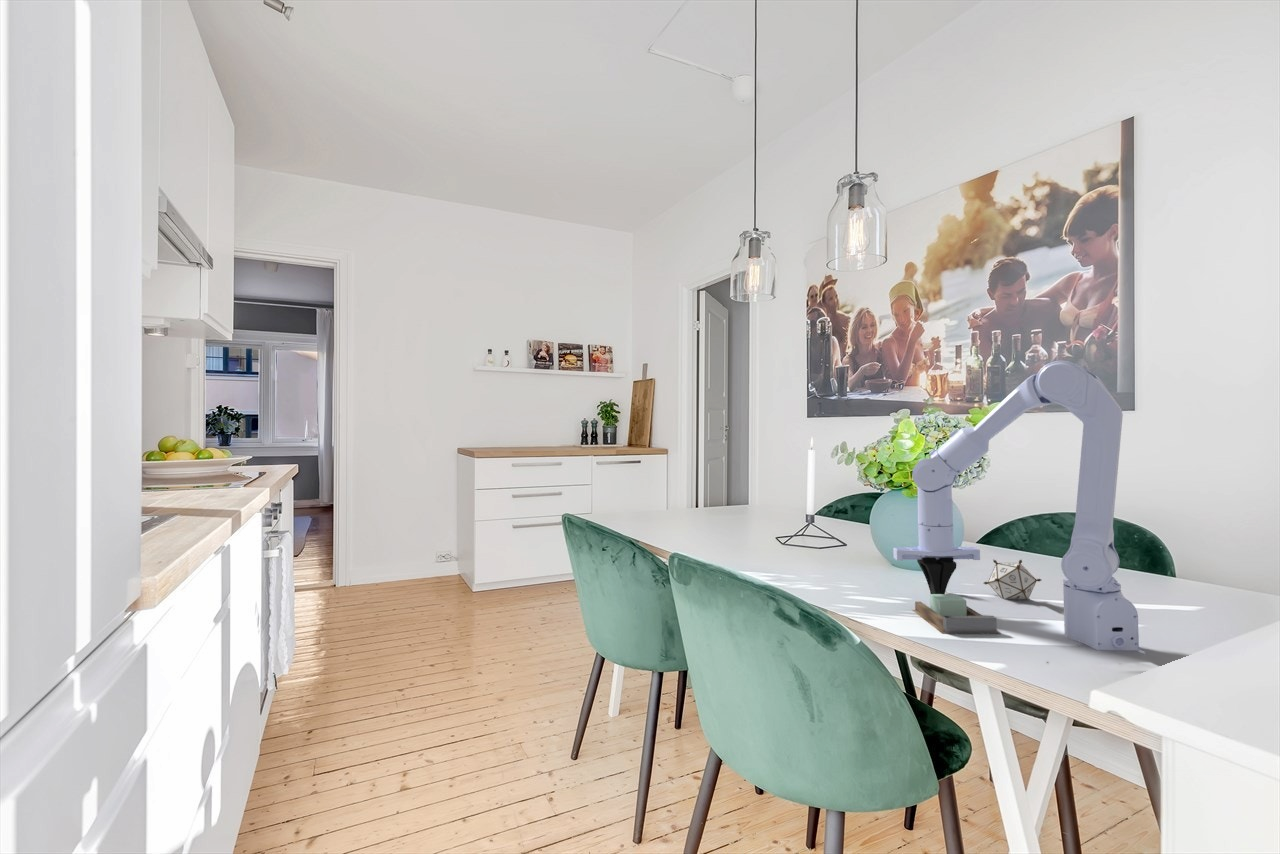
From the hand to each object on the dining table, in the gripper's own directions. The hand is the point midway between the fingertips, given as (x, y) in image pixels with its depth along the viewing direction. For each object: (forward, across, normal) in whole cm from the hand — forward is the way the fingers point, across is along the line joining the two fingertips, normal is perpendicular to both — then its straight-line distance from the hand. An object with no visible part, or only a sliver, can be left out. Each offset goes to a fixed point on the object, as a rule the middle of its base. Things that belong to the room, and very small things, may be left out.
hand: (937, 599), depth 110 cm
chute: (+3, 0, +6) cm, 7 cm away
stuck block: (+2, 0, +4) cm, 5 cm away
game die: (+3, -18, -8) cm, 20 cm away
